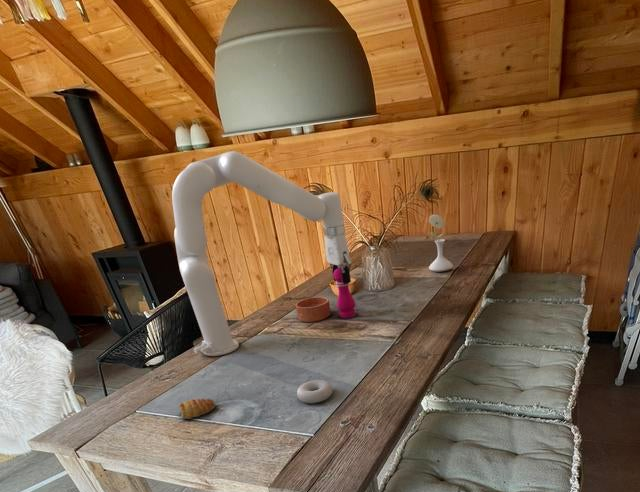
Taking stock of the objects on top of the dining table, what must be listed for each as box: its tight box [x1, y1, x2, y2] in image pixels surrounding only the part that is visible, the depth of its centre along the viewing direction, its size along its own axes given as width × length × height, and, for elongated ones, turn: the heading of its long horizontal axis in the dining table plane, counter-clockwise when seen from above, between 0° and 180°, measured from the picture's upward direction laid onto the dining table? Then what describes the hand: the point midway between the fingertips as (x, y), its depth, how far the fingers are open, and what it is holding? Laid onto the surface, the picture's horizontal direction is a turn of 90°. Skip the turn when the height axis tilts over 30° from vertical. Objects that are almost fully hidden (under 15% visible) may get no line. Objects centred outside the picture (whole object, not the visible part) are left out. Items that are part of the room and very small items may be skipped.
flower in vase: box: [428, 214, 454, 273], centre depth 218 cm, size 13×11×25 cm
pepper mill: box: [332, 266, 356, 319], centre depth 178 cm, size 7×7×20 cm
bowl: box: [294, 296, 332, 323], centre depth 186 cm, size 13×13×6 cm
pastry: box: [178, 398, 216, 420], centre depth 129 cm, size 9×7×4 cm
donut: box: [296, 379, 333, 404], centre depth 129 cm, size 10×4×10 cm
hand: (342, 281), depth 176 cm, fingers closed on pepper mill, 6 cm apart
